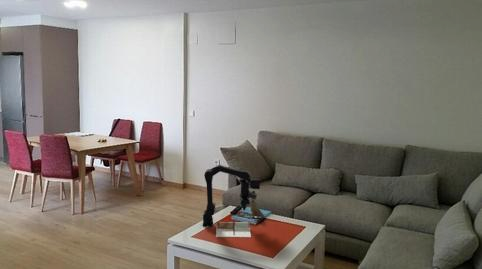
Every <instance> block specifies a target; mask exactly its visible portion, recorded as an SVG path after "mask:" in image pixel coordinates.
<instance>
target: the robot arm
mask: <svg viewBox="0 0 482 269" xmlns="http://www.w3.org/2000/svg"><path fill="white" fill-rule="evenodd" d="M220 172H221V173H224V174H228V175H231V176H235V177H238V178H239V180H238V181H237V182H238V183H240V193H239V203H240V205H241V208H242V210H243V211H246V207H247V206H248V205H250V201H251V200H252V199H253V200H254V201H255V200H256V199H257V197H258V194H257V193H256V191H255V190H260V189H261V188H260V187H261V184H260V182H261V180H260V179H257V178H256V179H255V178H254V179H253V178H252V177H251V174H250V171H249V170H246V169H236V168H233V167H229V166H225V165H222V164H217V165H216V166H215V167H212V168H209V169H206V170H205V171H204V180H205V184H206V197H207V204H206V209H205V210H204V211H203V215H202V227H213V224H214V218H213V216H214V215H215V212H216V210H217V207H216V203H214V197H213V179H214V176H215V175H217V174H218V173H220ZM250 189H252V191H250ZM251 198H252V199H251ZM250 199H251V200H250Z"/></svg>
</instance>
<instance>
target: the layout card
mask: <svg viewBox="0 0 482 269" xmlns="http://www.w3.org/2000/svg"><path fill="white" fill-rule="evenodd" d="M215 238H252V236H251V228H250V226H249V229H242V228H235V229H233V228H219V229H217V227H216V231H215Z"/></svg>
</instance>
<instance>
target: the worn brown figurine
mask: <svg viewBox="0 0 482 269" xmlns="http://www.w3.org/2000/svg"><path fill="white" fill-rule="evenodd" d="M250 199H251V200H250V204H249V205H250V212H251V215H250V214H249V215H250V216H261V217H263V218H264V219H265V214H264V213H263V212H262V211H261V209H260V208H259V207H258V204H257V203H256V201H255V200H254V199H252V198H250Z"/></svg>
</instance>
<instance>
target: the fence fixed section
mask: <svg viewBox="0 0 482 269" xmlns="http://www.w3.org/2000/svg"><path fill="white" fill-rule="evenodd" d="M235 222H236V221H217V222H216V228H217V229H219V228H233V229H235Z"/></svg>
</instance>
